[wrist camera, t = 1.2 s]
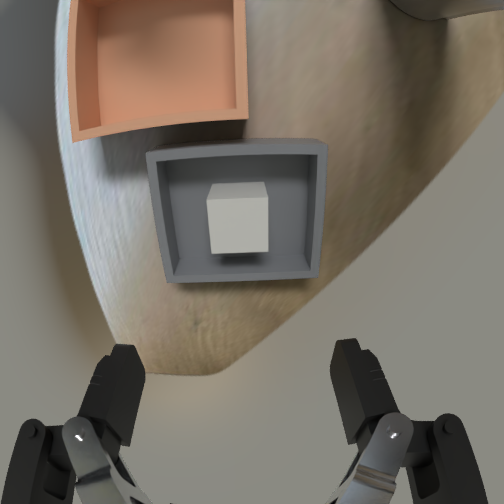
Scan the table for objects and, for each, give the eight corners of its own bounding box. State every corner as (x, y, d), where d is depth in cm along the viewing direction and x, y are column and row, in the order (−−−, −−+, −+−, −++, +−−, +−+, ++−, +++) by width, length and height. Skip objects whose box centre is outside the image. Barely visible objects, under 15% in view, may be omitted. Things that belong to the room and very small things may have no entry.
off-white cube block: (263, 181, 25) (268, 197, 21) (264, 228, 27) (268, 251, 23) (212, 183, 25) (206, 199, 21) (216, 230, 27) (211, 253, 23)
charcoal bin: (315, 138, 24) (327, 144, 20) (309, 256, 30) (318, 277, 26) (159, 145, 24) (145, 152, 20) (175, 261, 29) (166, 282, 26)
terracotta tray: (243, -21, 16) (243, -45, 12) (247, 116, 23) (248, 118, 18) (96, 6, 16) (71, -7, 11) (99, 134, 23) (72, 142, 18)
